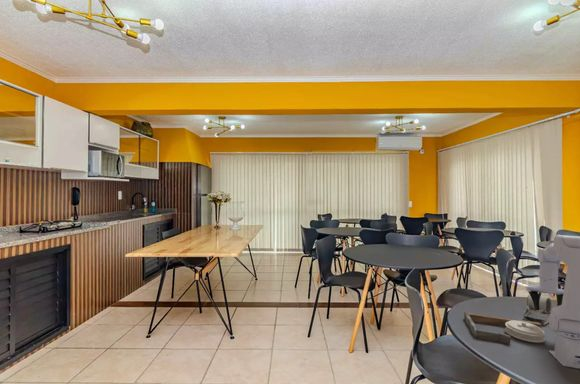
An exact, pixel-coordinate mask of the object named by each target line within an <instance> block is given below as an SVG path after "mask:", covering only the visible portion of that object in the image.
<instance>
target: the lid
mask: <svg viewBox="0 0 580 384" xmlns="http://www.w3.org/2000/svg"><path fill="white" fill-rule="evenodd" d="M516 320H517V319H516ZM516 320H511V321H508V322H506V323H505V325H506V326H505V328H504V331H505V332H506V334H507V335H510V336H511V337H514V338H516V339H519V340H522V341H525V342H529V343H545V341H546V338H545V336H546V332H545V331H544V330H543V329H542V327H541V328H540V327H538V326H536V325H533V324H531V323H527V322H523V321H524V320H523V321H516Z"/></svg>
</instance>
